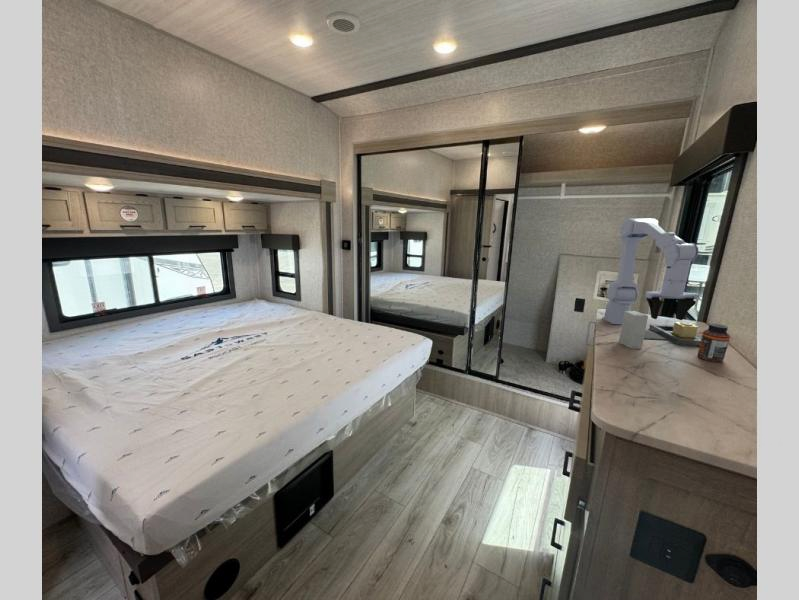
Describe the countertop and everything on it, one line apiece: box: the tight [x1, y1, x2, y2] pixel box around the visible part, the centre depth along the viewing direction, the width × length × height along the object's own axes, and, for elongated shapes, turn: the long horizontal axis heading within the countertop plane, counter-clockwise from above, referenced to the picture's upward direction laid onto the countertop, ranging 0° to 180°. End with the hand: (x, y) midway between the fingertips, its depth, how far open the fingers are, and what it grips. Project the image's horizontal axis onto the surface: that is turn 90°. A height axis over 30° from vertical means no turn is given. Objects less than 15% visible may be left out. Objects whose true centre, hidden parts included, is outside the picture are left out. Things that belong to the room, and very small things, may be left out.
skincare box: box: [618, 310, 649, 350], centre depth 106 cm, size 6×4×12 cm
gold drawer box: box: [672, 321, 699, 339], centre depth 111 cm, size 4×4×7 cm
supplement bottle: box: [697, 323, 731, 363], centre depth 96 cm, size 6×6×11 cm
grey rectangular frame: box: [648, 324, 702, 347], centre depth 115 cm, size 17×8×2 cm, turn 170°
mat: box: [644, 330, 668, 341], centre depth 117 cm, size 9×9×1 cm
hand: (666, 318), depth 105 cm, fingers open, 7 cm apart
